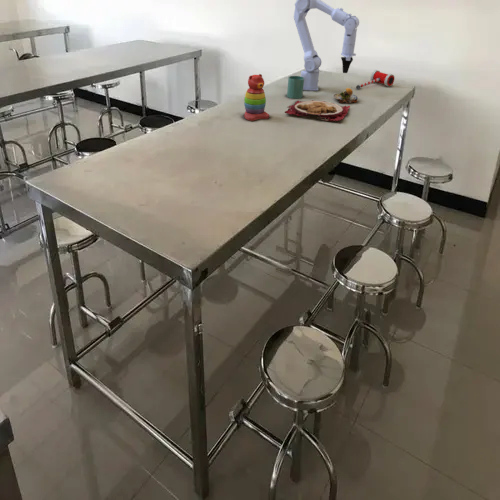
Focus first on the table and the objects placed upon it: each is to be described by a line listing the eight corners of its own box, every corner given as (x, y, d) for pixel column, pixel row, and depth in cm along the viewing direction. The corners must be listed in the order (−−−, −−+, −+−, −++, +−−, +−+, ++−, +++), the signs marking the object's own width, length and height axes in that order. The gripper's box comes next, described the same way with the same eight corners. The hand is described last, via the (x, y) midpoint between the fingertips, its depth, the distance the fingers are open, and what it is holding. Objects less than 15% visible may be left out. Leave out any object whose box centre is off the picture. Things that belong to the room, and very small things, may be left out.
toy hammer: (365, 92, 253) (367, 79, 249) (349, 86, 261) (350, 74, 257) (393, 85, 265) (395, 73, 261) (376, 81, 273) (378, 69, 269)
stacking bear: (249, 121, 208) (250, 79, 199) (238, 114, 216) (239, 73, 206) (271, 118, 213) (273, 76, 203) (260, 111, 220) (261, 71, 210)
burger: (341, 95, 246) (343, 80, 242) (361, 100, 240) (364, 85, 236) (328, 100, 239) (330, 84, 235) (348, 105, 232) (351, 89, 228)
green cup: (286, 98, 239) (288, 79, 234) (287, 93, 246) (288, 75, 241) (302, 99, 239) (304, 80, 234) (302, 94, 245) (304, 76, 240)
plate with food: (341, 124, 210) (342, 116, 208) (284, 114, 216) (284, 107, 214) (349, 109, 229) (351, 102, 227) (297, 101, 235) (298, 94, 233)
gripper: (358, 47, 230) (354, 76, 237) (356, 41, 242) (351, 69, 249) (343, 46, 230) (339, 75, 238) (341, 40, 242) (338, 68, 250)
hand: (344, 72), depth 244 cm, fingers closed
